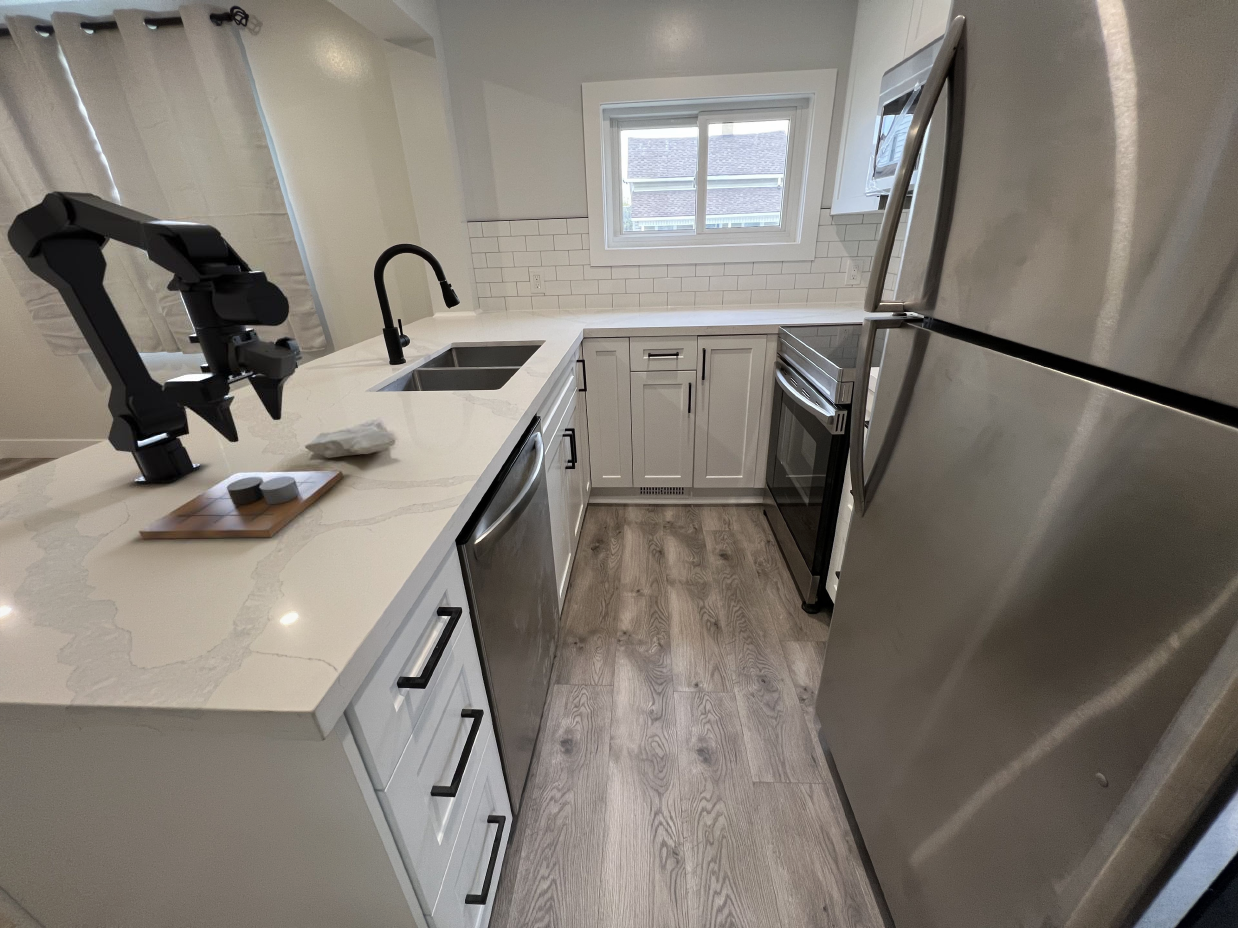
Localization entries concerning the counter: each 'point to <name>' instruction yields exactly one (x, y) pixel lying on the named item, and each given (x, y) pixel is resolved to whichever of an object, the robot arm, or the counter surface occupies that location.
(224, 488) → the board
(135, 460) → the robot arm
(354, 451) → the rock
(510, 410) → the counter surface
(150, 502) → the counter surface
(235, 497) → the black stone
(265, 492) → the grey stone
